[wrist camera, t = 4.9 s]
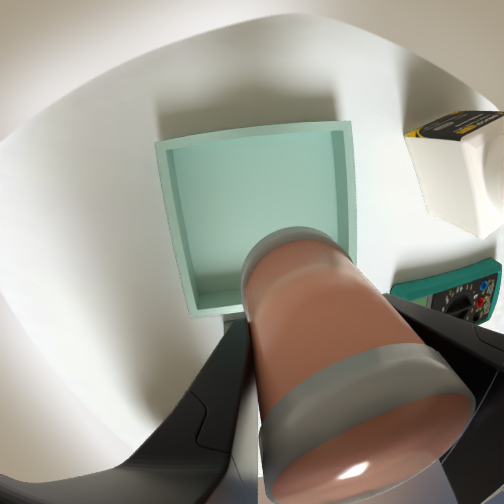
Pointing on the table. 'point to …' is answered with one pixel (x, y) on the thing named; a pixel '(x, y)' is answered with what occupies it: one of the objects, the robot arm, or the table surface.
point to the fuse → (340, 377)
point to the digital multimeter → (458, 291)
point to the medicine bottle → (462, 169)
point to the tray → (252, 199)
